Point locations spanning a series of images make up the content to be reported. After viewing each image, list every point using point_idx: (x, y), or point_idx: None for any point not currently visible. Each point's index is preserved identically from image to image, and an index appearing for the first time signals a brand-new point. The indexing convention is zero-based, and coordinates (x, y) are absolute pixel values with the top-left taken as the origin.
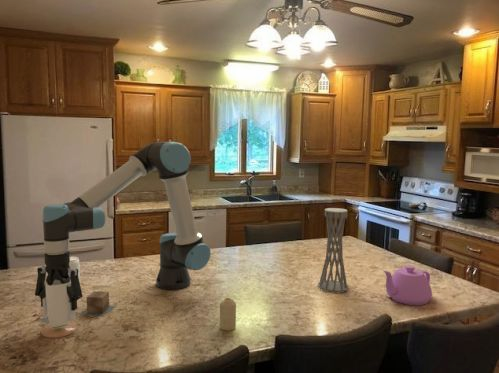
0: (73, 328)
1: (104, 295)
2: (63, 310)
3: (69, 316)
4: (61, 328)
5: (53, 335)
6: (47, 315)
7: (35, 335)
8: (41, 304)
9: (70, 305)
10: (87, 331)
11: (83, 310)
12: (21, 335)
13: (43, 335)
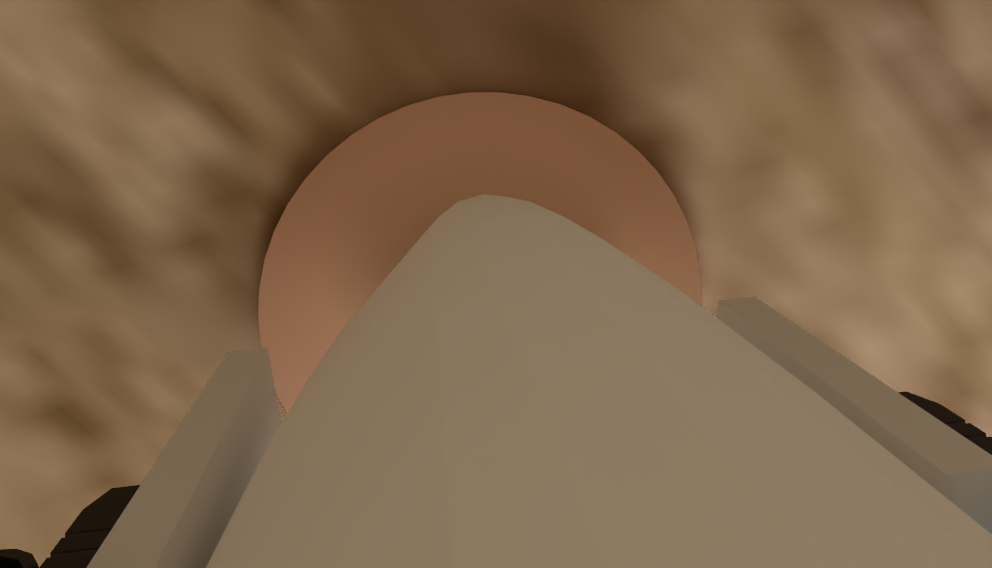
0: None
1: None
2: (311, 395)
3: (227, 383)
4: None
5: (410, 127)
6: None
7: (679, 91)
8: (946, 416)
9: (124, 528)
10: (117, 407)
11: None
12: (853, 30)
13: (562, 105)
